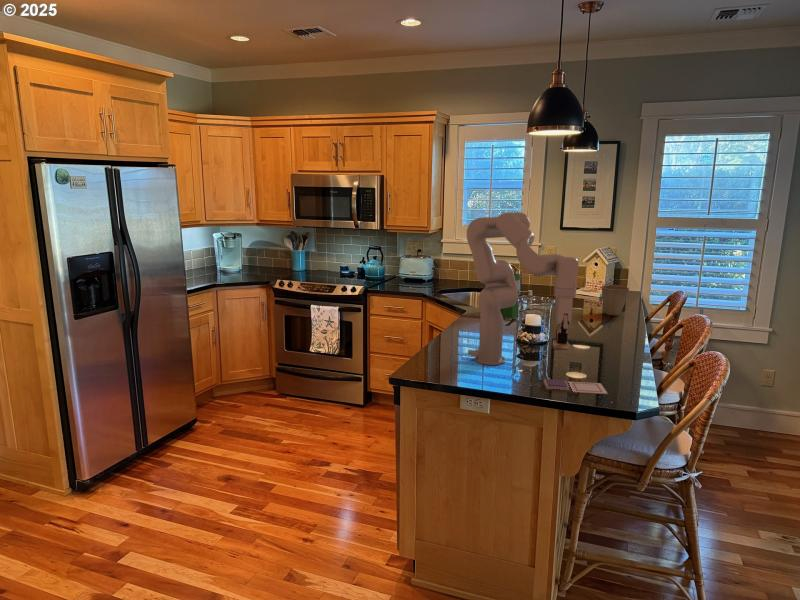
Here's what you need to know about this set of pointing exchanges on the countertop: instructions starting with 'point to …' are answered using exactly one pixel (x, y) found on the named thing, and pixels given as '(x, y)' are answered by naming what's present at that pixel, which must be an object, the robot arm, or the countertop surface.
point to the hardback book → (513, 310)
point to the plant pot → (614, 298)
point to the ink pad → (556, 384)
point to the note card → (587, 387)
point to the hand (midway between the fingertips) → (561, 341)
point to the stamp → (560, 346)
